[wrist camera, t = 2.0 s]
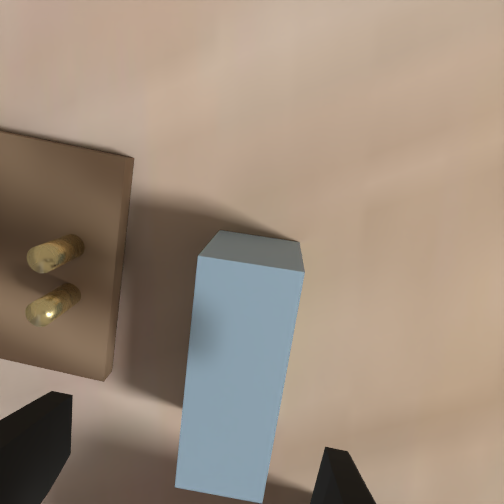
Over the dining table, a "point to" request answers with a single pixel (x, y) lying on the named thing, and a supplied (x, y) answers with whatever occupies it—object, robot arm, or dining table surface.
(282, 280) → the light blue rectangular block
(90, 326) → the peg stand
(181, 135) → the dining table surface
